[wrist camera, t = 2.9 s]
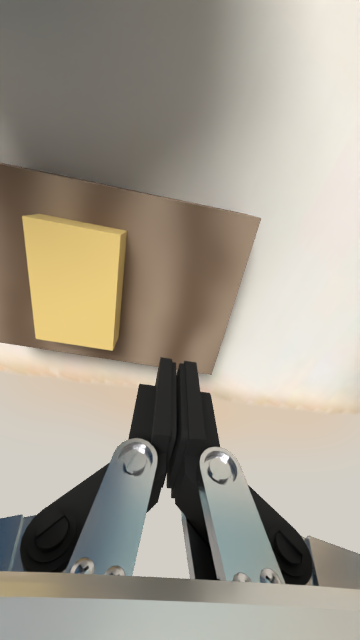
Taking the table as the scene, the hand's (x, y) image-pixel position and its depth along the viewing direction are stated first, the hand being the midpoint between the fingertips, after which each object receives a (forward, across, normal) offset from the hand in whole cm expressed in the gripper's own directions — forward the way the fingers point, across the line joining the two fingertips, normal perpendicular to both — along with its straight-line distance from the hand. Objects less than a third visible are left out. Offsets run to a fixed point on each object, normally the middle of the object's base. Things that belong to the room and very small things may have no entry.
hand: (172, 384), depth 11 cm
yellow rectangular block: (+10, +7, 0) cm, 12 cm away
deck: (+13, +5, -1) cm, 14 cm away
